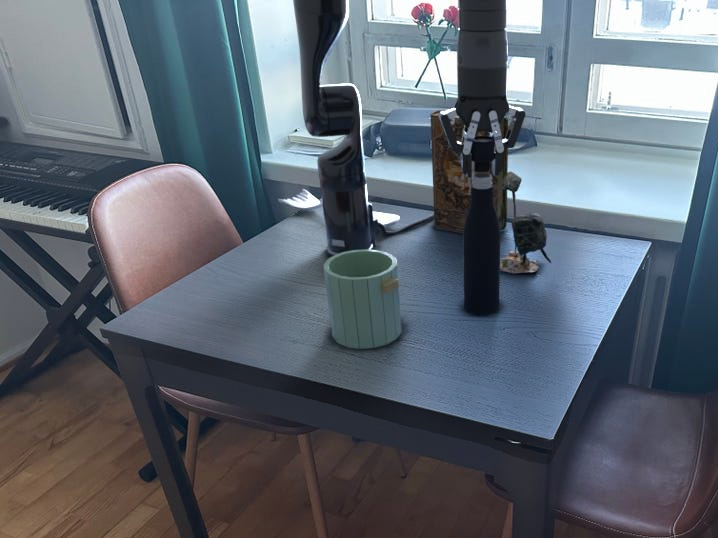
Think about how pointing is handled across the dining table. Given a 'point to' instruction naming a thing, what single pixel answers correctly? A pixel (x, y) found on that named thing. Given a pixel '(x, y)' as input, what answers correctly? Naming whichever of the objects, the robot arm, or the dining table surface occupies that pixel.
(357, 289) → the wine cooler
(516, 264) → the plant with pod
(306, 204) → the serving fork
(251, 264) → the dining table surface
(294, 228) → the dining table surface
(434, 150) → the book
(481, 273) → the wine bottle
